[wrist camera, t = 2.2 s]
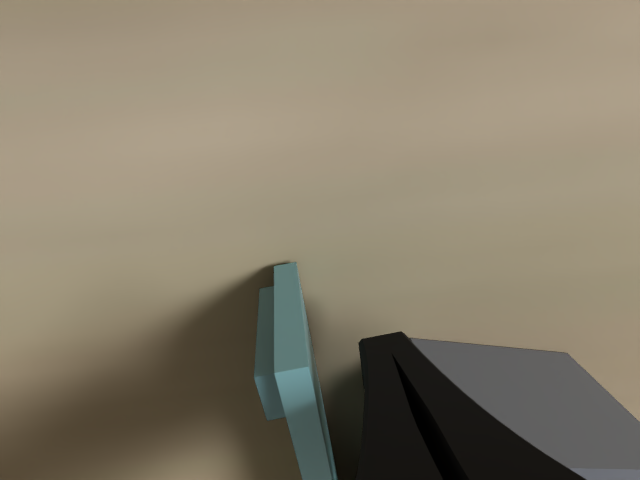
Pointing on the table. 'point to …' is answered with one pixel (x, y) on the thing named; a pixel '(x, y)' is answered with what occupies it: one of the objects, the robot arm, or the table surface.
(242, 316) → the table surface
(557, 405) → the block
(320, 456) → the door
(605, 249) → the table surface
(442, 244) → the table surface
